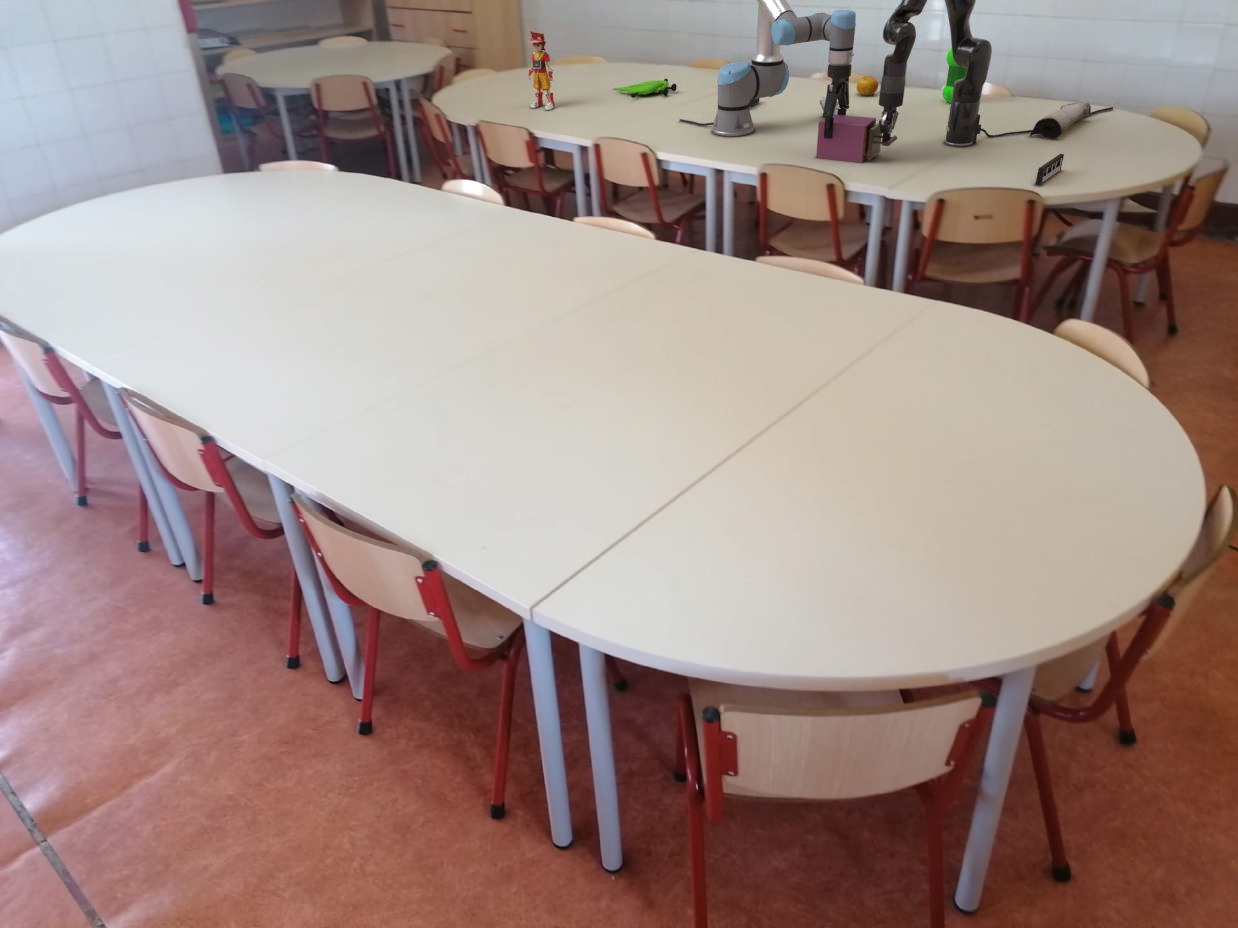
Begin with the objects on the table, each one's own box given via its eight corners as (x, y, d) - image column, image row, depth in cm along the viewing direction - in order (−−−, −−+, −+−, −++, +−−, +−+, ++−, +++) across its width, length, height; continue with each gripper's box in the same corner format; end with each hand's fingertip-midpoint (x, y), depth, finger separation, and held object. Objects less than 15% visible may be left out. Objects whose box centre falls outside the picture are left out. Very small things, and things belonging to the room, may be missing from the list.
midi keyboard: (1039, 185, 269) (1043, 168, 266) (1035, 184, 270) (1038, 168, 267) (1060, 170, 279) (1064, 154, 277) (1056, 169, 280) (1060, 153, 277)
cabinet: (872, 153, 305) (876, 118, 298) (861, 162, 297) (865, 126, 290) (827, 149, 312) (830, 114, 305) (816, 157, 304) (818, 122, 298)
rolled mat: (1058, 107, 328) (1083, 90, 320) (1071, 128, 329) (1097, 111, 320) (1025, 130, 311) (1051, 112, 303) (1040, 152, 311) (1065, 134, 303)
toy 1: (525, 109, 381) (517, 32, 364) (534, 104, 388) (527, 28, 371) (550, 110, 377) (543, 32, 360) (559, 105, 384) (553, 28, 367)
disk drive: (744, 111, 360) (759, 102, 370) (744, 104, 358) (760, 95, 368) (721, 109, 365) (737, 100, 375) (721, 102, 363) (737, 93, 373)
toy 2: (686, 85, 398) (631, 84, 414) (685, 72, 395) (629, 72, 411) (651, 104, 381) (596, 103, 397) (650, 92, 378) (594, 91, 394)
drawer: (896, 154, 300) (899, 123, 294) (886, 162, 293) (890, 131, 288) (838, 147, 309) (840, 118, 304) (827, 155, 302) (830, 125, 297)
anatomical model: (814, 91, 345) (840, 84, 344) (817, 118, 351) (843, 112, 350) (825, 101, 333) (851, 93, 332) (828, 129, 339) (854, 122, 338)
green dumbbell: (973, 101, 354) (984, 32, 339) (955, 106, 349) (966, 36, 335) (952, 97, 361) (962, 29, 346) (934, 102, 356) (944, 33, 342)
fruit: (851, 87, 368) (863, 69, 365) (853, 91, 376) (865, 73, 373) (868, 99, 367) (880, 81, 364) (870, 102, 374) (882, 84, 371)
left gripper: (838, 72, 280) (832, 143, 293) (863, 57, 296) (856, 126, 309) (815, 70, 284) (810, 141, 296) (841, 56, 300) (835, 124, 312)
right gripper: (897, 95, 279) (890, 151, 289) (910, 86, 288) (902, 141, 298) (873, 93, 283) (867, 149, 293) (887, 84, 292) (880, 139, 302)
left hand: (834, 133), depth 302 cm, fingers closed on cabinet, 11 cm apart
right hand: (885, 145), depth 296 cm, fingers closed
